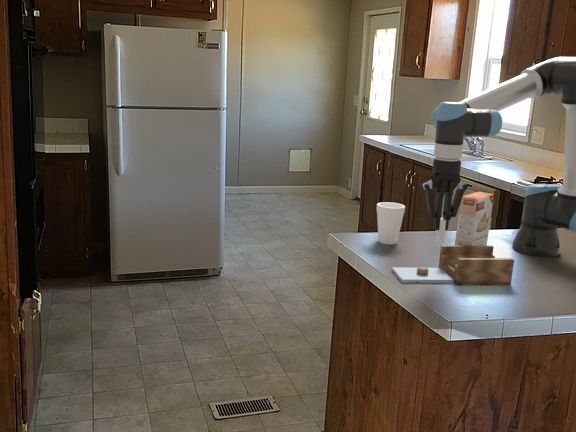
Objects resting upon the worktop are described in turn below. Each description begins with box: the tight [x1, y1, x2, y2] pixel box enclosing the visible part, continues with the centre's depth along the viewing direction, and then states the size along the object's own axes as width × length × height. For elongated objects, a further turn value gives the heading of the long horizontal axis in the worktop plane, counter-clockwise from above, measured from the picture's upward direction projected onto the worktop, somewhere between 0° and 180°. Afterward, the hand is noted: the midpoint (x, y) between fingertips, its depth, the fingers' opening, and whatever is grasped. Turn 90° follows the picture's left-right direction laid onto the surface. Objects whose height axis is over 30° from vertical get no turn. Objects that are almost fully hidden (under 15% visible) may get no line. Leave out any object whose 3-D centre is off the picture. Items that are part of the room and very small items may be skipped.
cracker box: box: [454, 191, 495, 246], centre depth 192 cm, size 14×6×21 cm, turn 141°
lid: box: [391, 266, 455, 284], centre depth 173 cm, size 15×10×3 cm
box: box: [438, 244, 515, 286], centre depth 175 cm, size 16×14×8 cm
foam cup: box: [376, 201, 406, 245], centre depth 207 cm, size 10×9×13 cm
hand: (439, 240), depth 172 cm, fingers closed
